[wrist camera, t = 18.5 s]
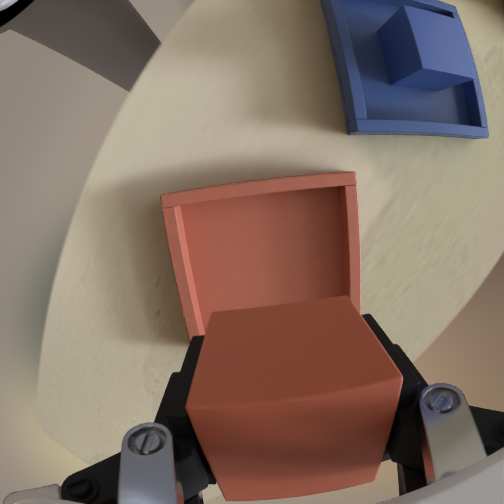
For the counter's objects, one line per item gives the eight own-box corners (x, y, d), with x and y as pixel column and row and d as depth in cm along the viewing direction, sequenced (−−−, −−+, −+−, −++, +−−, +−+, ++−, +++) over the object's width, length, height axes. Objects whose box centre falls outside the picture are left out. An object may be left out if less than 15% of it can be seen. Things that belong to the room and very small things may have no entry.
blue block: (376, 30, 15) (402, 4, 11) (426, 38, 15) (458, 19, 11) (389, 85, 16) (422, 67, 12) (440, 91, 16) (476, 79, 12)
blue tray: (317, -8, 15) (323, -21, 13) (443, 14, 14) (455, 6, 12) (347, 135, 18) (357, 131, 16) (474, 139, 17) (489, 138, 15)
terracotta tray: (168, 193, 19) (159, 195, 17) (345, 171, 18) (355, 171, 16) (199, 347, 22) (195, 363, 20) (351, 329, 21) (359, 342, 19)
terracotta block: (210, 311, 10) (183, 407, 5) (347, 293, 9) (405, 376, 5) (232, 408, 11) (225, 502, 6) (344, 394, 11) (375, 482, 6)
